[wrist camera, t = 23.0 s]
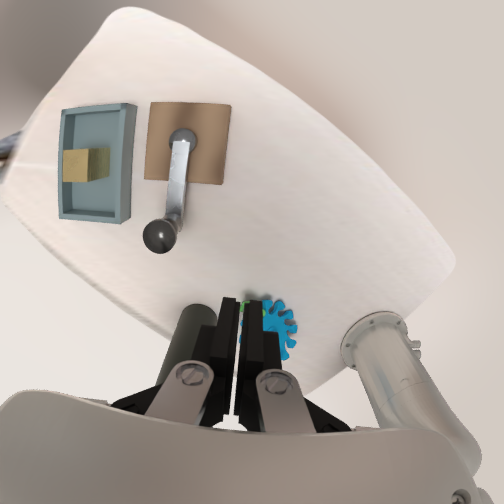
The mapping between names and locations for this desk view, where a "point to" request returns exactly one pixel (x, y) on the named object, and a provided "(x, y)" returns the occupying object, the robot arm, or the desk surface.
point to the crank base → (207, 133)
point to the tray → (119, 180)
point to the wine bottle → (185, 337)
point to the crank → (172, 194)
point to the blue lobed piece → (277, 324)
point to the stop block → (85, 164)
